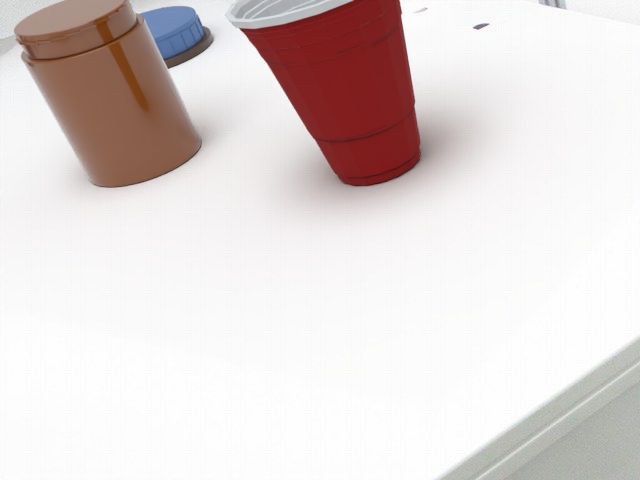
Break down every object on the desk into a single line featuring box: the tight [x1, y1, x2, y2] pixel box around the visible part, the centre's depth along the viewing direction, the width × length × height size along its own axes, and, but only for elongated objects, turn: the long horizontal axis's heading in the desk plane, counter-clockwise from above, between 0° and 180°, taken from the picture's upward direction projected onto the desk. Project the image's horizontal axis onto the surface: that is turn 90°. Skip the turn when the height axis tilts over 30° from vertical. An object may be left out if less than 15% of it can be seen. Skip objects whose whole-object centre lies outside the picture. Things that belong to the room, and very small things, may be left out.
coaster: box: [164, 25, 214, 69], centre depth 97 cm, size 10×10×1 cm
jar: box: [13, 0, 202, 188], centre depth 76 cm, size 8×8×11 cm
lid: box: [139, 5, 205, 60], centre depth 96 cm, size 9×9×2 cm
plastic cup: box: [224, 0, 421, 186], centre depth 68 cm, size 11×11×12 cm
